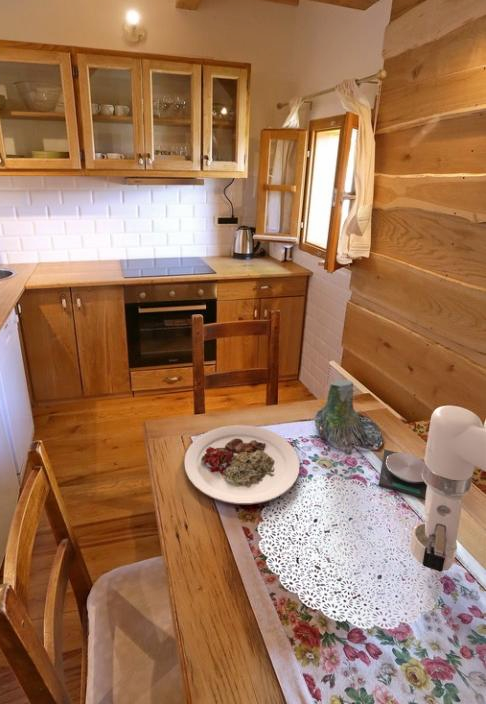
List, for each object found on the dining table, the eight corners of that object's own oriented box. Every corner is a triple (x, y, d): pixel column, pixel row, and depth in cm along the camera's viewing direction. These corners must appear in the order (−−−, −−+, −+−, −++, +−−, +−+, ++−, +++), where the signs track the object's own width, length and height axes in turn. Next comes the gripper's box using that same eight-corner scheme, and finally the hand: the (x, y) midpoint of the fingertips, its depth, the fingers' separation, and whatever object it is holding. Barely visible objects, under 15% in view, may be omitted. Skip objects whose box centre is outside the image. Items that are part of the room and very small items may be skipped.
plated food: (320, 493, 98) (322, 482, 96) (199, 522, 90) (199, 510, 89) (271, 423, 125) (272, 413, 123) (175, 440, 117) (174, 430, 116)
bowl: (452, 546, 79) (455, 529, 78) (454, 578, 73) (457, 560, 72) (410, 534, 82) (413, 517, 81) (409, 563, 76) (412, 546, 75)
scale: (432, 468, 106) (433, 461, 105) (432, 506, 94) (434, 498, 93) (383, 455, 111) (384, 448, 110) (377, 489, 99) (379, 482, 98)
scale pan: (430, 464, 104) (431, 459, 103) (430, 492, 95) (431, 487, 94) (387, 453, 108) (387, 448, 107) (383, 478, 99) (384, 473, 99)
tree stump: (346, 465, 108) (339, 401, 105) (302, 438, 126) (295, 383, 123) (397, 443, 114) (392, 383, 112) (349, 421, 133) (343, 368, 130)
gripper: (476, 517, 62) (457, 598, 68) (467, 450, 77) (452, 522, 83) (422, 502, 66) (408, 581, 71) (423, 441, 80) (411, 511, 86)
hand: (432, 549), depth 77 cm, fingers closed on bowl, 7 cm apart
